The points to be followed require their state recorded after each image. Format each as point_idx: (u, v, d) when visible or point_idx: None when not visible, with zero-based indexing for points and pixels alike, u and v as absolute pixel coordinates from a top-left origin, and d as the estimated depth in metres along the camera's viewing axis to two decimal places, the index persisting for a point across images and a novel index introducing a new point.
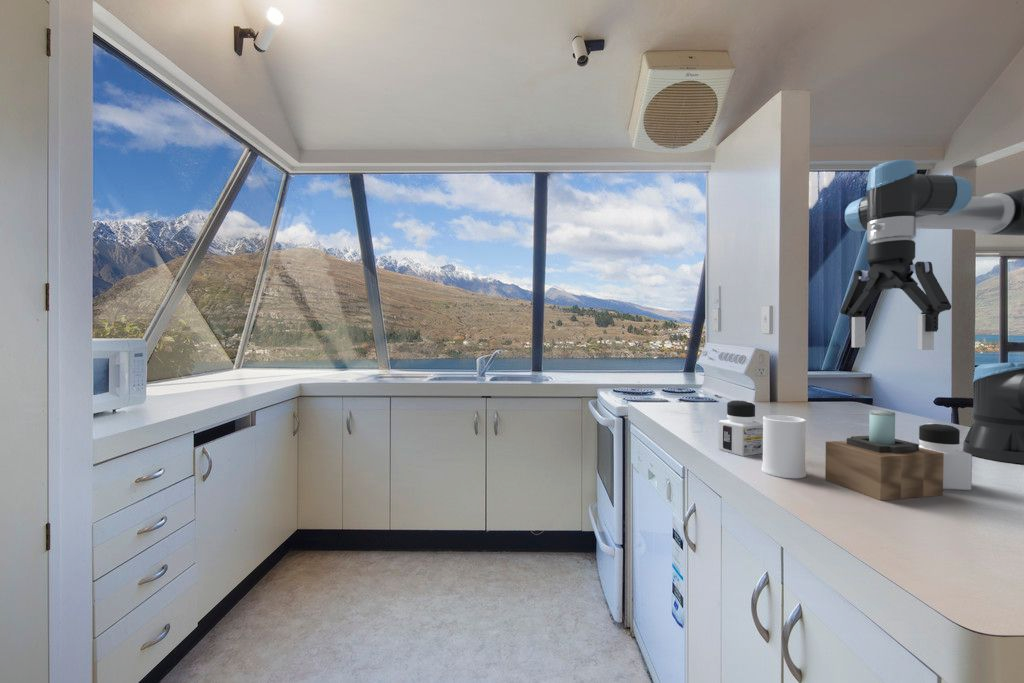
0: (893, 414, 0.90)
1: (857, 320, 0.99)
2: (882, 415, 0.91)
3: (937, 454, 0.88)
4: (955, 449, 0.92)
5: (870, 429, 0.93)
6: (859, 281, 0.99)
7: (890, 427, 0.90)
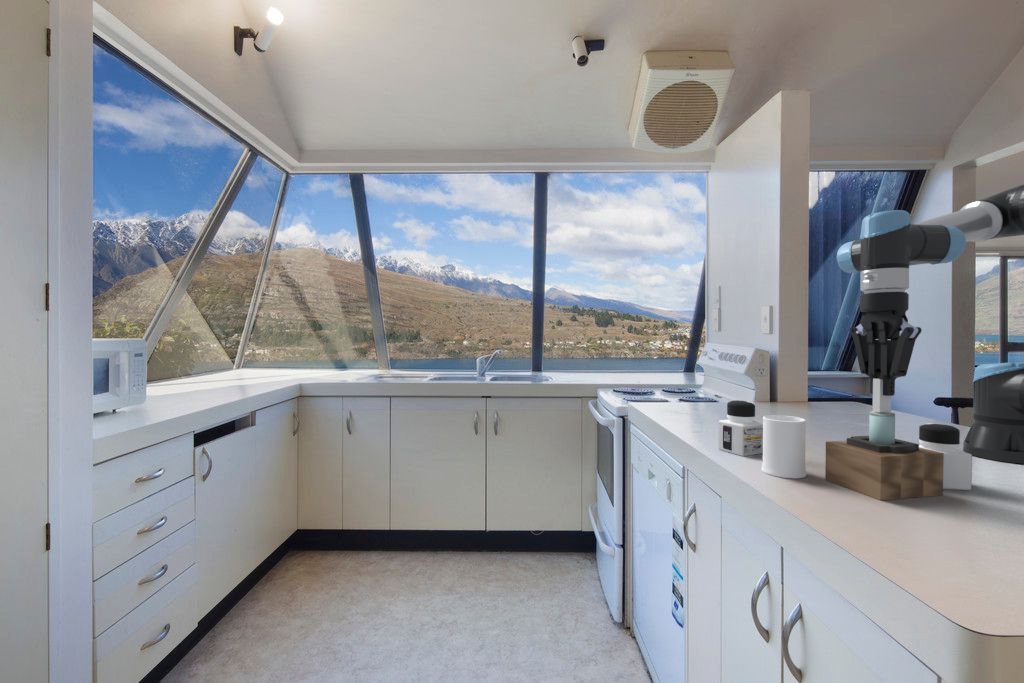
0: (893, 415, 0.90)
1: None
2: (882, 416, 0.91)
3: (937, 454, 0.88)
4: (955, 449, 0.92)
5: (870, 430, 0.93)
6: (859, 336, 0.96)
7: (890, 428, 0.90)
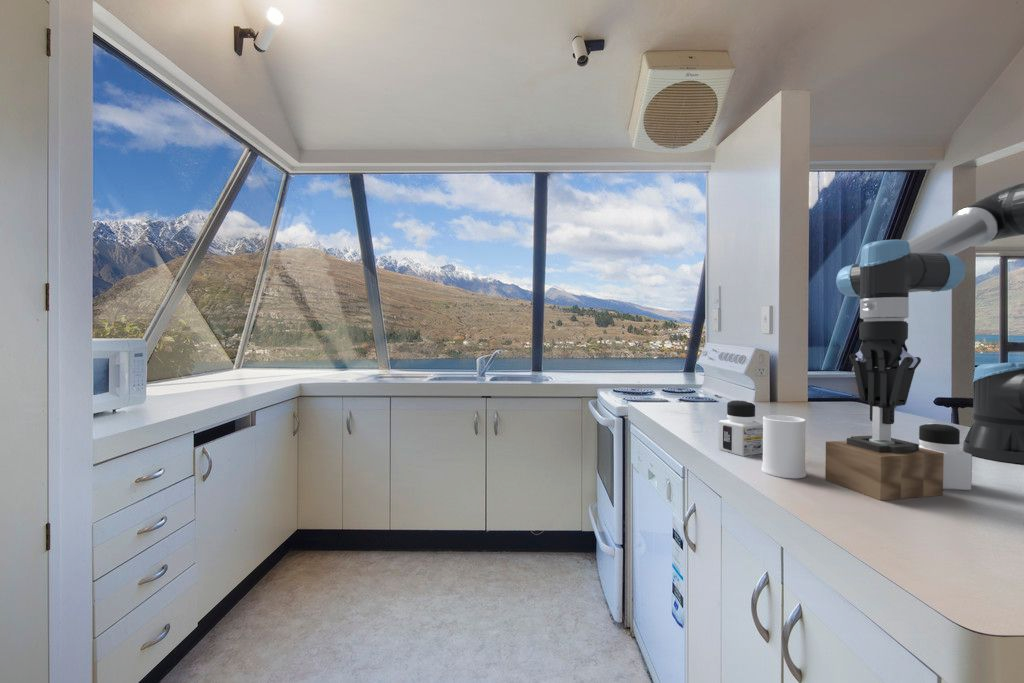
0: (893, 443, 0.91)
1: None
2: None
3: (937, 454, 0.88)
4: (955, 449, 0.92)
5: None
6: (859, 363, 0.96)
7: None
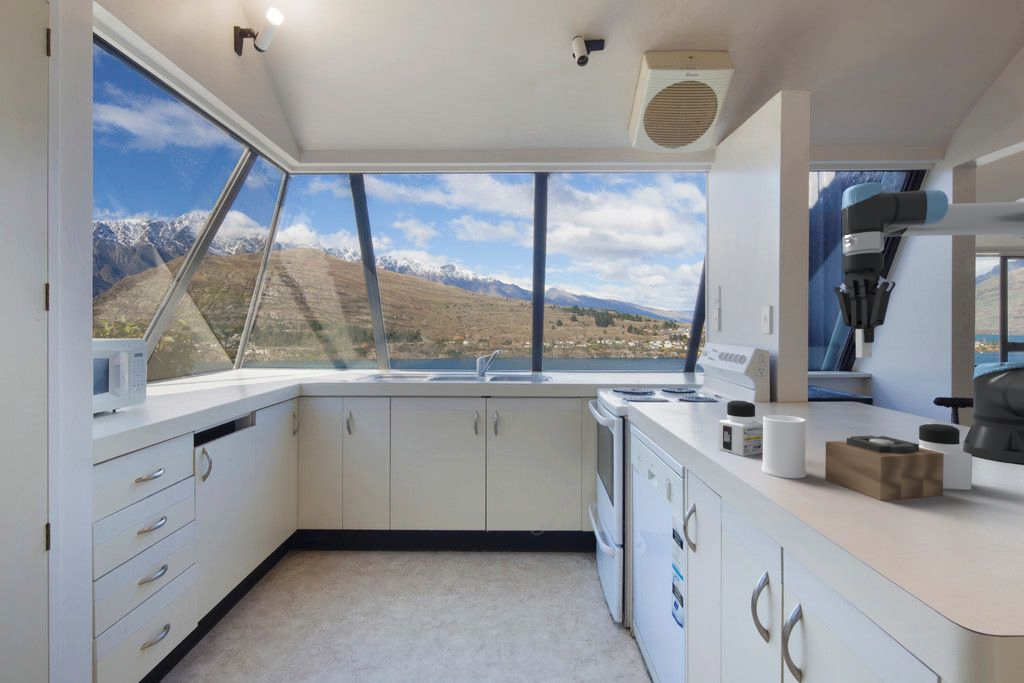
0: None
1: None
2: None
3: (937, 454, 0.88)
4: (955, 449, 0.92)
5: None
6: (842, 293, 1.10)
7: None
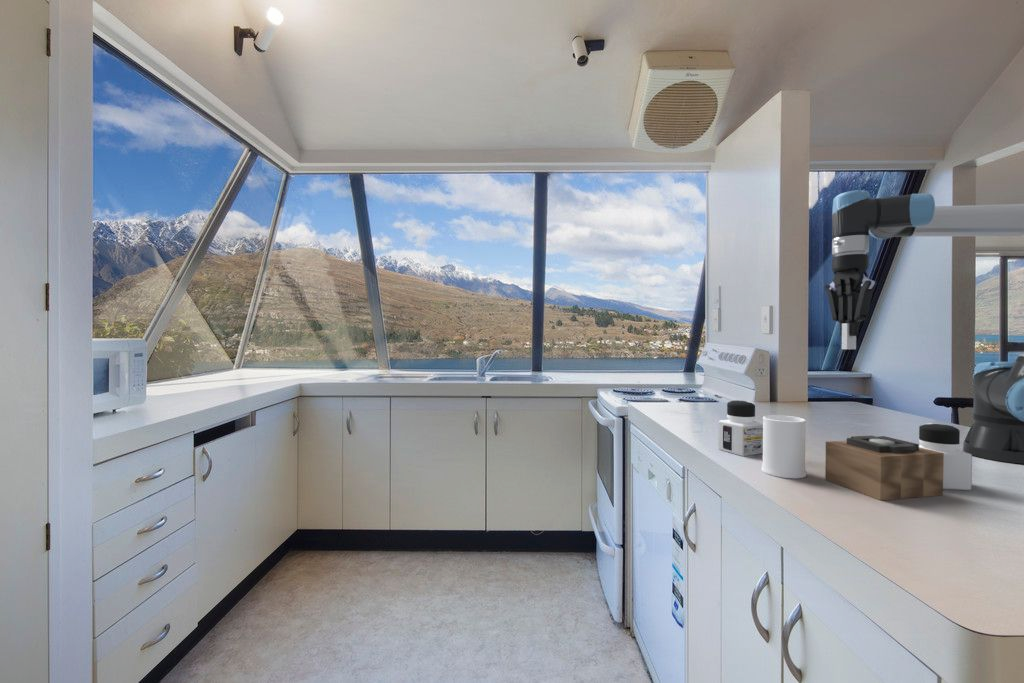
0: None
1: None
2: None
3: (937, 454, 0.88)
4: (955, 449, 0.92)
5: None
6: (832, 291, 1.21)
7: None
